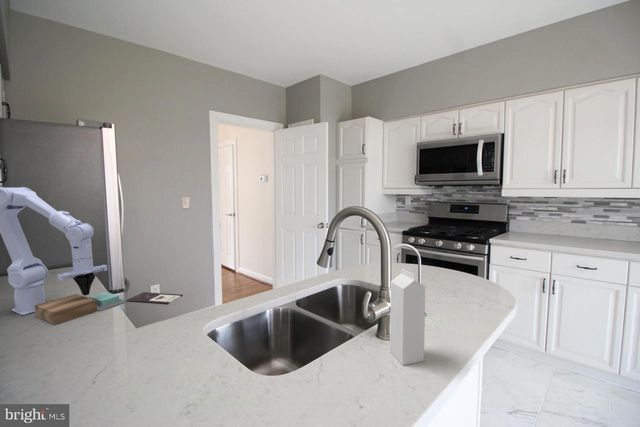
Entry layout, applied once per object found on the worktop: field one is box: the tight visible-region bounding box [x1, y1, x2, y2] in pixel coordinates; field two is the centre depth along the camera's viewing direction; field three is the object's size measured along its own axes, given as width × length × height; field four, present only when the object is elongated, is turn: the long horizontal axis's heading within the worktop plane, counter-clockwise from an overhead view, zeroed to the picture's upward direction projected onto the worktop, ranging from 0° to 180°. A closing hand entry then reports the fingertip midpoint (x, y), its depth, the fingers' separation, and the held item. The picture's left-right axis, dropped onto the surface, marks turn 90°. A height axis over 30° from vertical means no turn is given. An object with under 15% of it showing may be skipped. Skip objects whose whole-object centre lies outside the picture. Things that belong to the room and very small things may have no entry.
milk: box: [389, 267, 426, 366], centre depth 75 cm, size 6×6×22 cm
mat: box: [96, 298, 129, 312], centre depth 115 cm, size 16×10×1 cm, turn 61°
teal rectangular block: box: [88, 291, 120, 306], centre depth 116 cm, size 9×6×2 cm, turn 61°
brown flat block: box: [34, 293, 98, 326], centre depth 105 cm, size 14×12×4 cm
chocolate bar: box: [125, 291, 184, 306], centre depth 119 cm, size 9×1×18 cm
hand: (85, 294), depth 110 cm, fingers closed
